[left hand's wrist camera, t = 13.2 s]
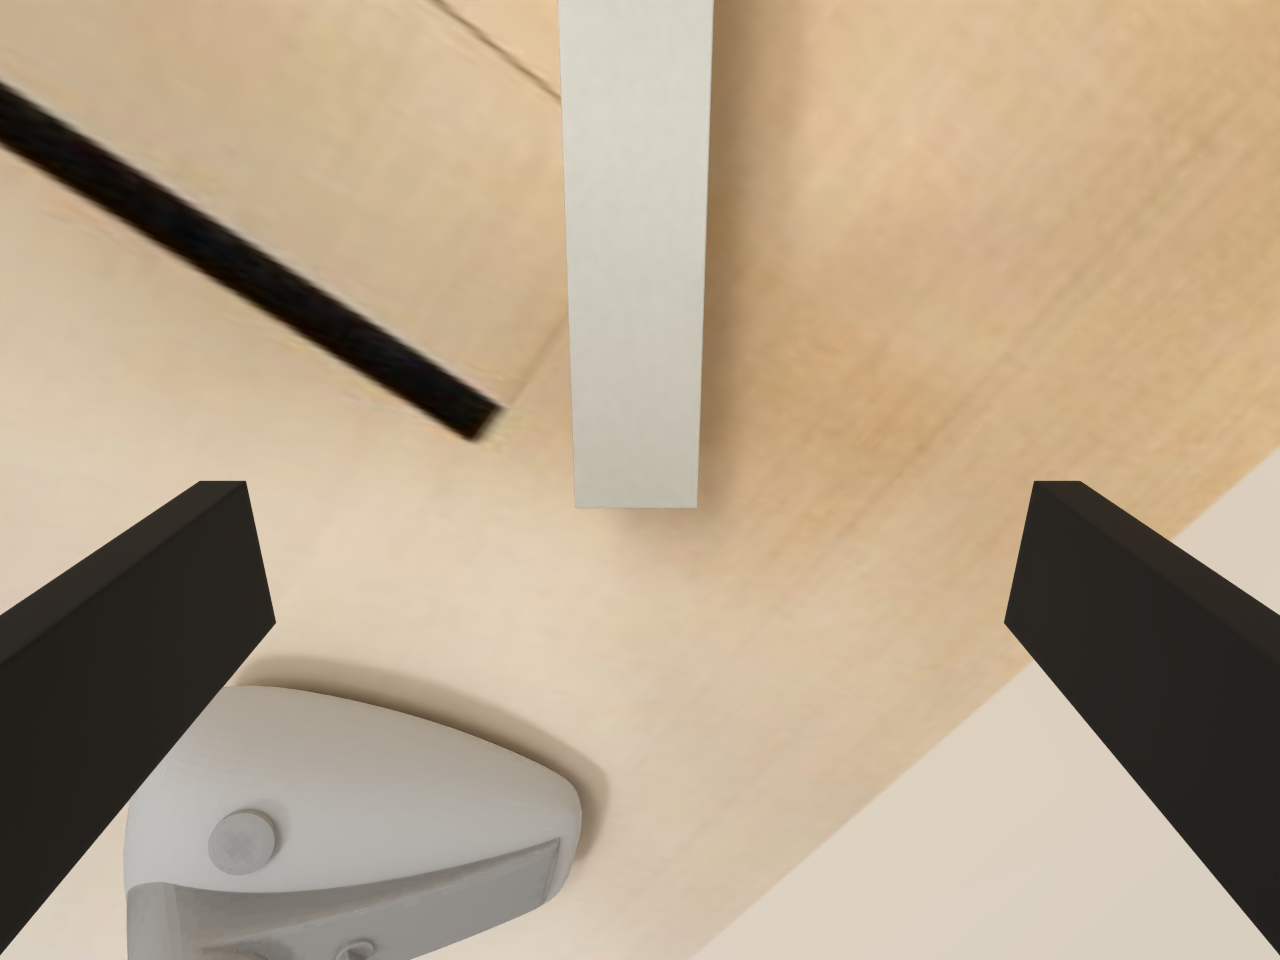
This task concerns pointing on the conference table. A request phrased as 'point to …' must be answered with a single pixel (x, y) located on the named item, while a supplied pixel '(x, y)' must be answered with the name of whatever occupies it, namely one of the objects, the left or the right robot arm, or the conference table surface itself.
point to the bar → (636, 243)
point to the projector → (336, 834)
